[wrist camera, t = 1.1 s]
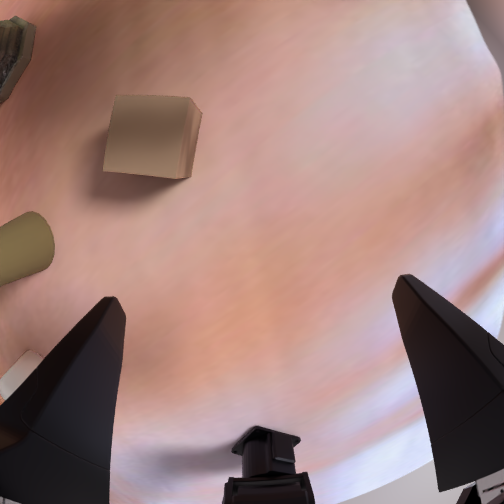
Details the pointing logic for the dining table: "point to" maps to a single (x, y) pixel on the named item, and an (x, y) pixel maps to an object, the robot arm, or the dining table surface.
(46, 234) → the cork
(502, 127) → the dining table surface
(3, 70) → the bird statue
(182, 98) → the walnut block
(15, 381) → the off-white cylinder
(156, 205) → the dining table surface
